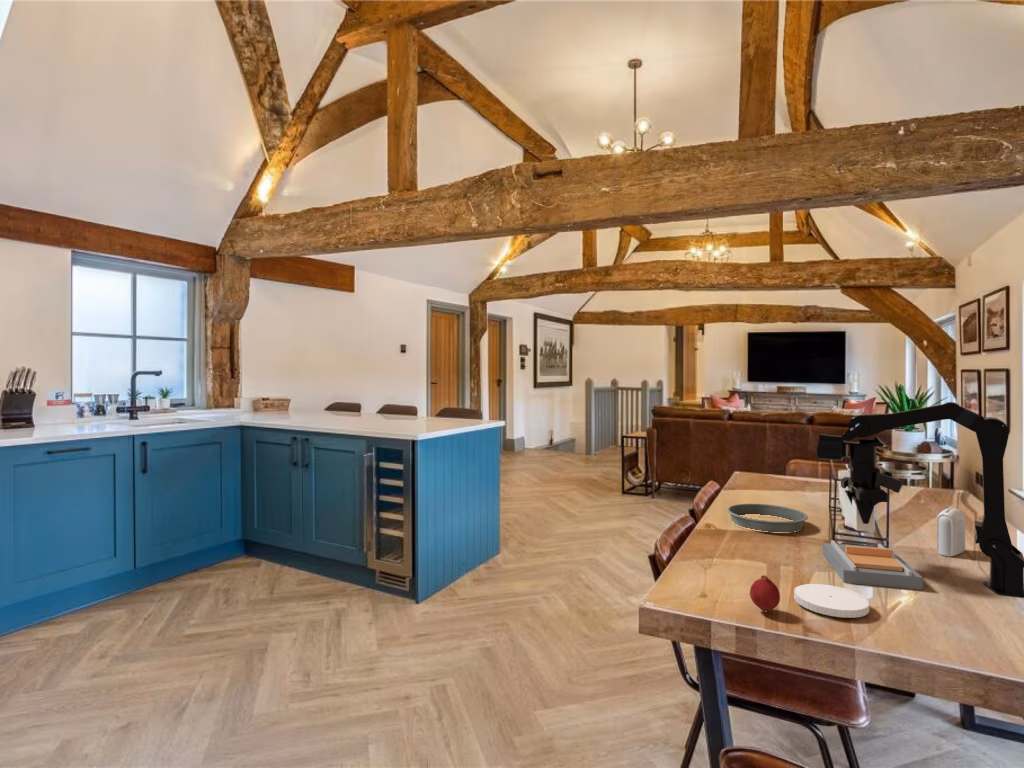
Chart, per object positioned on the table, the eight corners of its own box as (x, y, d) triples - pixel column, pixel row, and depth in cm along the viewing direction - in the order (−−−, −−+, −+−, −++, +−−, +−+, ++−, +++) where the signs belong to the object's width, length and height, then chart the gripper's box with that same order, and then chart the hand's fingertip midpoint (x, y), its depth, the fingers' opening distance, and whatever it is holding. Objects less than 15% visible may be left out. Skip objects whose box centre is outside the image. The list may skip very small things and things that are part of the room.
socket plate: (922, 590, 124) (922, 572, 124) (843, 582, 129) (843, 566, 129) (889, 559, 145) (889, 544, 145) (822, 553, 150) (822, 539, 150)
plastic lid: (781, 596, 123) (781, 585, 123) (839, 593, 124) (839, 582, 124) (820, 624, 109) (820, 611, 109) (885, 621, 110) (885, 608, 110)
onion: (754, 603, 118) (754, 567, 118) (783, 610, 115) (782, 573, 114) (746, 612, 114) (746, 575, 114) (776, 620, 110) (775, 581, 110)
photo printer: (948, 547, 155) (948, 504, 154) (967, 551, 151) (967, 507, 151) (934, 554, 149) (934, 509, 149) (953, 558, 145) (953, 513, 145)
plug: (874, 531, 138) (874, 501, 138) (856, 530, 140) (856, 500, 140) (869, 527, 142) (869, 497, 142) (852, 526, 144) (852, 496, 143)
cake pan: (815, 538, 165) (815, 524, 165) (729, 532, 173) (729, 518, 173) (800, 518, 188) (800, 505, 188) (725, 513, 196) (725, 501, 196)
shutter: (902, 571, 128) (902, 559, 128) (854, 567, 131) (854, 555, 131) (890, 560, 136) (890, 548, 135) (845, 556, 139) (845, 545, 139)
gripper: (913, 469, 129) (913, 534, 130) (886, 458, 147) (886, 514, 147) (859, 467, 133) (860, 530, 133) (840, 456, 151) (840, 512, 151)
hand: (863, 521), depth 141 cm, fingers closed on plug, 4 cm apart
